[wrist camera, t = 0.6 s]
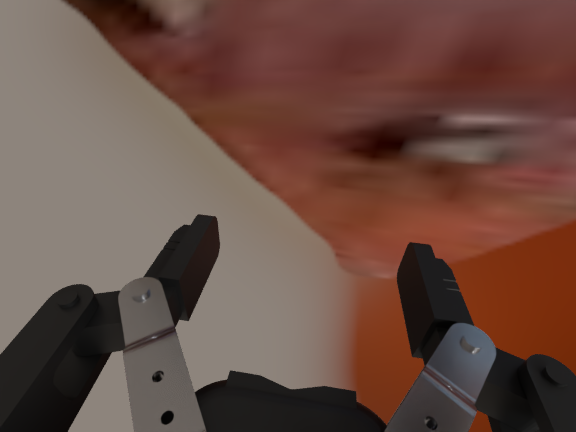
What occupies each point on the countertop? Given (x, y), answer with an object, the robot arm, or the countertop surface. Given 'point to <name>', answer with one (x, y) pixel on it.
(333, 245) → the countertop surface
